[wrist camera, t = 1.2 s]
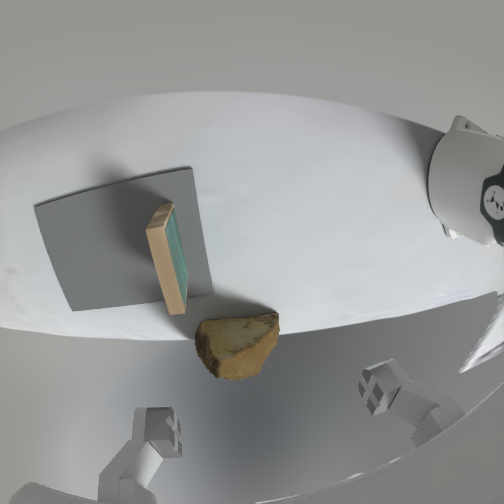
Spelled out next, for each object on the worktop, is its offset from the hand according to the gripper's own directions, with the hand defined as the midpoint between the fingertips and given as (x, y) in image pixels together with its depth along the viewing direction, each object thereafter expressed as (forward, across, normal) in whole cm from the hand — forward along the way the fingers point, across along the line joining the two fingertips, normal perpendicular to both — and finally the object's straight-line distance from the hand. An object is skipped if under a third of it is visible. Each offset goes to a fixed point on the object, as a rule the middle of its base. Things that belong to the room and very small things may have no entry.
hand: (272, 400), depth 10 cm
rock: (+21, 0, +13) cm, 24 cm away
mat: (+20, +12, 0) cm, 24 cm away
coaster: (+20, +5, 0) cm, 21 cm away
